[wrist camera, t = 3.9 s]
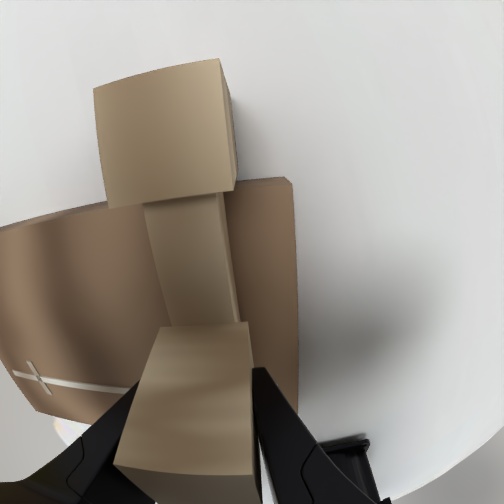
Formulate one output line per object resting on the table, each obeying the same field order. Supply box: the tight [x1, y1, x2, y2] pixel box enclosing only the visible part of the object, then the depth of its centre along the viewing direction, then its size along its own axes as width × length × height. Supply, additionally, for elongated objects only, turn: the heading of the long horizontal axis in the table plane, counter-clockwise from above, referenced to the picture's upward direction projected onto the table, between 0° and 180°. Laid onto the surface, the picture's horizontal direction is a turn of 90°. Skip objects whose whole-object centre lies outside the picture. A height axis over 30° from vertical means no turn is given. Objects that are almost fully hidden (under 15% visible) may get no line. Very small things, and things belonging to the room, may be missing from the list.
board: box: [0, 177, 298, 425], centre depth 13 cm, size 20×14×2 cm
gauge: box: [93, 58, 263, 504], centre depth 8 cm, size 3×13×9 cm, turn 5°
